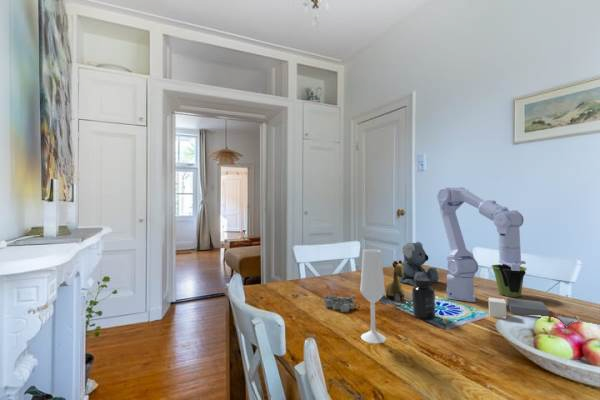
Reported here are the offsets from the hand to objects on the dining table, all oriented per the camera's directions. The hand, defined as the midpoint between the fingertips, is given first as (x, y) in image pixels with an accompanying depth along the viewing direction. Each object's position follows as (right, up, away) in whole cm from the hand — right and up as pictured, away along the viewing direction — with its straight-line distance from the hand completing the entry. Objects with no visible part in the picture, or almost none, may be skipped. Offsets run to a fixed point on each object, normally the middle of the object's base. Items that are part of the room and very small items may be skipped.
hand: (511, 289), depth 96 cm
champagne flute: (-49, -9, -15) cm, 52 cm away
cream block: (-4, -9, +1) cm, 10 cm away
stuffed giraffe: (-31, -10, +20) cm, 38 cm away
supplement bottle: (-28, -9, +1) cm, 30 cm away
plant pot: (+16, -9, +23) cm, 29 cm away
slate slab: (+8, -9, +4) cm, 13 cm away
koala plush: (-14, -10, +45) cm, 48 cm away
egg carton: (-55, -10, +10) cm, 57 cm away
